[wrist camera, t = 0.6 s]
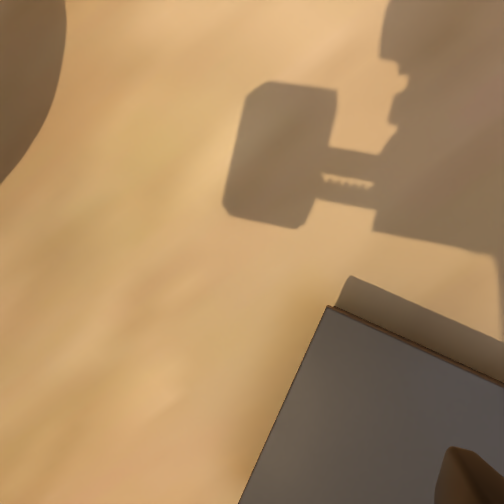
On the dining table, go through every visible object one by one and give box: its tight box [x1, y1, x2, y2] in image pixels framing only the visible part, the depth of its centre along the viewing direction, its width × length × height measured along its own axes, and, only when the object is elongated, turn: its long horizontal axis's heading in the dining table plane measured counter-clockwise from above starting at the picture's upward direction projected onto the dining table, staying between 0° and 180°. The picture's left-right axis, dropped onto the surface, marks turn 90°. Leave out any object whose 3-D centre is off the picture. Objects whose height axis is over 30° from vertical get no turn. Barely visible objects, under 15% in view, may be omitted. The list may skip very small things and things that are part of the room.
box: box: [238, 305, 504, 504], centre depth 20 cm, size 11×17×3 cm, turn 66°
